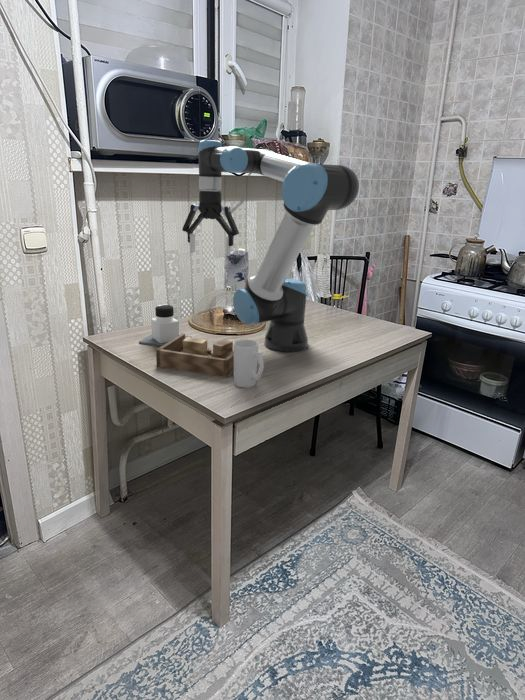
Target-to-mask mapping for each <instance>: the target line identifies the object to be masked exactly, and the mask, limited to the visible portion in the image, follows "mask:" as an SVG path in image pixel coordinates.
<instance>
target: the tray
mask: <svg viewBox="0 0 525 700" xmlns="http://www.w3.org/2000/svg"><path fill="white" fill-rule="evenodd" d="M185 336H186V334H185V333H179V336H177V337H175V338H174V339H172V340H171V341H169V342H168V343H166V344H165V345H163V346H161V347H160V346H159V347H158V348H157V349H156V350H155V358H156V359H155V360H156V366H157V367H159V368H160V367H161V368H167V369H171V370H178V371H179V370H180V371H185V372H191V373H196V374H197V373H198V374H204V375H210V376H216V377H221V378H228V377H230V376H231V375H232V374H233V373H234V351H233V352H232V353H231V354H230V355H229V356H228V357H227V358H226V359H222V358H216V357H211V356H207V355H208V354H209V355H211V352H212V349H210V348H209V349H208V348H207V355H206V356H203V355H196V354H190V353H183V340H184V339H185Z"/></svg>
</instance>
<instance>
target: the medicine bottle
mask: <svg viewBox="0 0 525 700" xmlns="http://www.w3.org/2000/svg"><path fill="white" fill-rule="evenodd" d="M154 310H155V317H153V318H151V319H150V320H151V321H150V323H151V334H152V338H154V339H155V340H156V341H158V342H159V343H166V342H169V341H171V340H172V339H174V338H175V337H177V336H179V335H180V332H179V331H180V330H179V328H180V327H179V325H180V324H179V323H180V322H179V320H177V319H176V318H175V317H174V316H175V315H174V307H173V306H172V305H170V304H159V305H156V306H155V309H154Z"/></svg>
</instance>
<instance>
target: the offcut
mask: <svg viewBox="0 0 525 700" xmlns="http://www.w3.org/2000/svg"><path fill="white" fill-rule="evenodd" d="M207 349H208V339H203V338H196V337H192V338H190V337H187V338H186V339H184V340H183V351H182V352H183V353H190V354H196V355H203V356H207V355H208V353H207Z"/></svg>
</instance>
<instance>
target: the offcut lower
mask: <svg viewBox="0 0 525 700" xmlns="http://www.w3.org/2000/svg"><path fill="white" fill-rule="evenodd" d="M211 350H212V352H211V354H210V357H216V358H222V359H226V358H227V357H228V356H229V355H230V354H231V353H232V352H233V351H234V349H233V350H232V351H230V352H228V353H226V354H223V355H217V354H214V353H213V348H211Z"/></svg>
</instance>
